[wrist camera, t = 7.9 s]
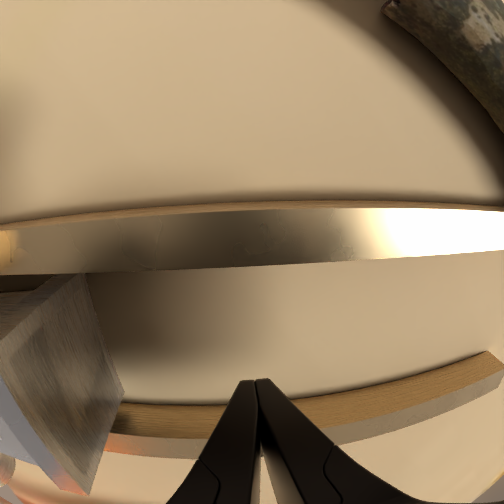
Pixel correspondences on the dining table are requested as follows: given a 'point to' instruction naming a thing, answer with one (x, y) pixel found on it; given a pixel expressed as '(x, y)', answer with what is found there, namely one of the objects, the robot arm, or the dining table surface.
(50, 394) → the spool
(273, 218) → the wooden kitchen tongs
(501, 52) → the grey brown wooden log
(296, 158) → the dining table surface
